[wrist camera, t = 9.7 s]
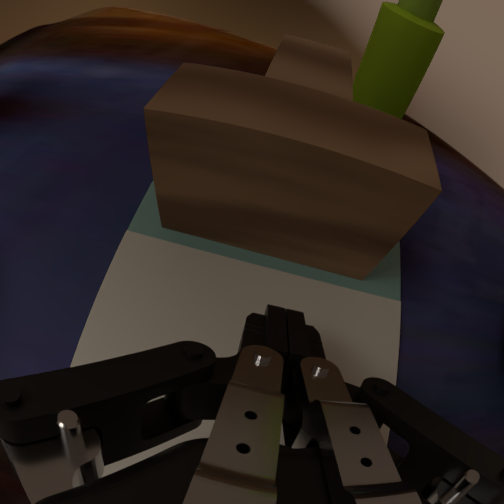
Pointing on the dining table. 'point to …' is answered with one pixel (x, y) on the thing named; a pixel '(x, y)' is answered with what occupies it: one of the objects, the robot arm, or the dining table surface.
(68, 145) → the dining table surface
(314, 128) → the t block
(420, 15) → the soap dispenser
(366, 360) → the board
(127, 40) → the dining table surface
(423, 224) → the dining table surface
